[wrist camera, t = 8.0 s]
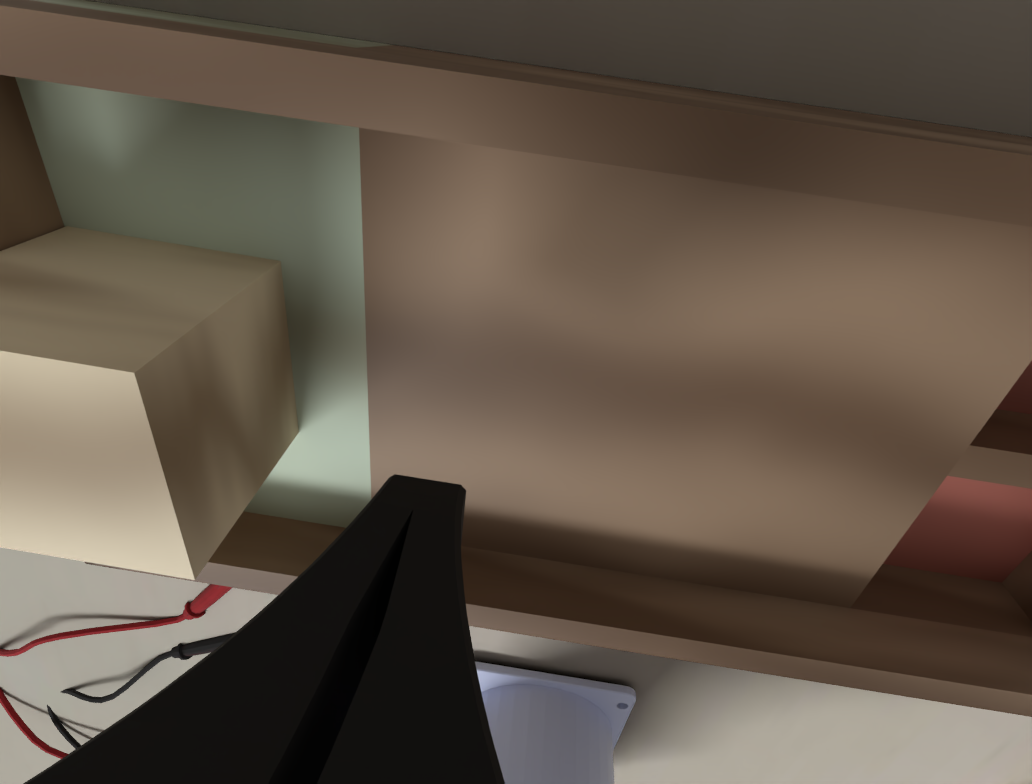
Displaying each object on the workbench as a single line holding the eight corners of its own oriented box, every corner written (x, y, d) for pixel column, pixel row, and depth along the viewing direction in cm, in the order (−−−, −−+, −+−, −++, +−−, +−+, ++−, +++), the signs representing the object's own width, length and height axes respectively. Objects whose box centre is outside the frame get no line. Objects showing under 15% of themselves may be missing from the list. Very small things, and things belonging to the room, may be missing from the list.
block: (298, 432, 16) (194, 580, 11) (123, 403, 16) (-45, 539, 11) (280, 260, 13) (133, 372, 9) (66, 225, 13) (-183, 320, 9)
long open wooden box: (1005, 595, 20) (1105, 728, 16) (177, 464, 20) (85, 563, 16) (1397, 190, 12) (1769, 262, 8) (43, -6, 12) (-188, -22, 9)
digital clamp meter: (520, 884, 29) (173, 898, 36) (526, 786, 33) (211, 817, 40) (233, 618, 18) (-179, 714, 26) (292, 518, 22) (-82, 626, 29)
